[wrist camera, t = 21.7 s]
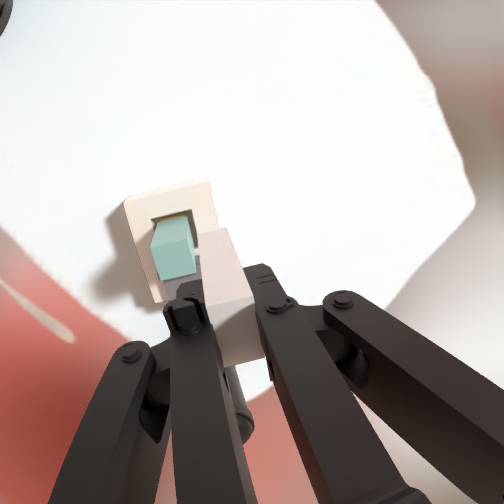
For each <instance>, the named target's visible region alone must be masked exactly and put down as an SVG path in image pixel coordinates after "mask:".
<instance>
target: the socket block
mask: <svg viewBox="0 0 504 504" xmlns="http://www.w3.org/2000/svg"><path fill="white" fill-rule="evenodd" d="M123 205H124V208H125V212H126V215H127V219H128V222H129V226H130V229H131V232H132V236H133V239H134V242H135V245H136V249H137V252H138V255H139V258H140V261H141V264H142V267H143V270H144V273H145V276H146V278H147V281H148V284H149V287H150V290H151V292H152V295H153V298H154V301H155V303H159V302H163V301H168V300H169V298H168V295H167V292H166V289H165V286H164V283H163V280H162V281H159V279H158V276H157V267H156V264H155V261H154V258H153V255H152V252H151V248H150V247H151V243H152V240H153V236H154V233H155V229H156V226H157V223H158V222H160V219H161V217H165V216H169V215H173V214H177V213H182V212H186V214H187V218H188V222H189V226H190V230H191V234H192V238H193V242H194V252H195V256H196V255H199V248H198V238H197V234H201V233H206V232H210V231H214V230H219V225H218V220H217V216H216V211H215V206H214V201H213V196H212V191H211V186H210V181H209V179H208V177H205V178H201V179H196V180H192V181H188V182H183V183H179V184H175V185H171V186H167V187H163V188H159V189H155V190H151V191H147V192H143V193H139V194H136V195H132V196H128V198H127V199H126V200H125V201H124V202H123Z"/></svg>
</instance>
